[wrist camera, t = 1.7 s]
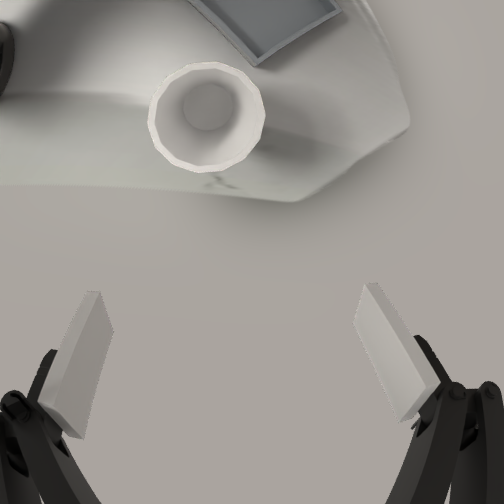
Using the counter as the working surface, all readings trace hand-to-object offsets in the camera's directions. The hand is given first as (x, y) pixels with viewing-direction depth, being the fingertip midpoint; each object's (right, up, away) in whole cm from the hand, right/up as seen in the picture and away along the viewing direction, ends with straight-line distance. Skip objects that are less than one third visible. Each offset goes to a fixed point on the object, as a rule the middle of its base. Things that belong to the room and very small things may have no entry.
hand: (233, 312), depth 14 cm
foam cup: (-4, +20, +18) cm, 28 cm away
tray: (+2, +33, +11) cm, 35 cm away
